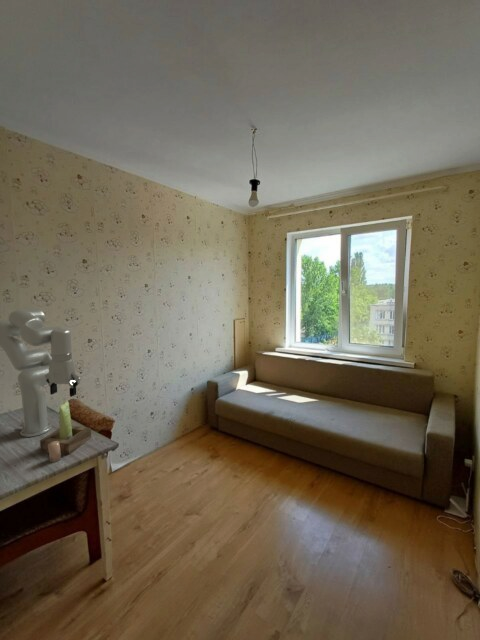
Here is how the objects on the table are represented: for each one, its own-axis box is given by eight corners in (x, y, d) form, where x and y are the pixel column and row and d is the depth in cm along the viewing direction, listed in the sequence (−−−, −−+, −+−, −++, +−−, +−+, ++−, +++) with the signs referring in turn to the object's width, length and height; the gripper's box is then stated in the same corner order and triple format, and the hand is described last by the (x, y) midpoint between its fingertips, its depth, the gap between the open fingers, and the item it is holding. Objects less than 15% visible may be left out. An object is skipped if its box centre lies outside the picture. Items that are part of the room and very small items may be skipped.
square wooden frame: (40, 451, 125) (40, 440, 124) (65, 435, 139) (64, 425, 138) (69, 454, 123) (68, 443, 122) (91, 437, 136) (90, 427, 136)
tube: (58, 444, 131) (55, 403, 128) (70, 439, 134) (67, 399, 132) (62, 448, 127) (59, 406, 125) (74, 444, 131) (72, 403, 129)
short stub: (47, 462, 117) (45, 446, 116) (53, 456, 121) (51, 441, 120) (57, 462, 117) (55, 446, 116) (63, 456, 121) (61, 440, 120)
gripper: (37, 357, 124) (39, 395, 126) (73, 361, 121) (74, 399, 123) (51, 353, 131) (53, 389, 133) (85, 356, 128) (86, 393, 131)
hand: (63, 394), depth 128 cm, fingers open, 9 cm apart
